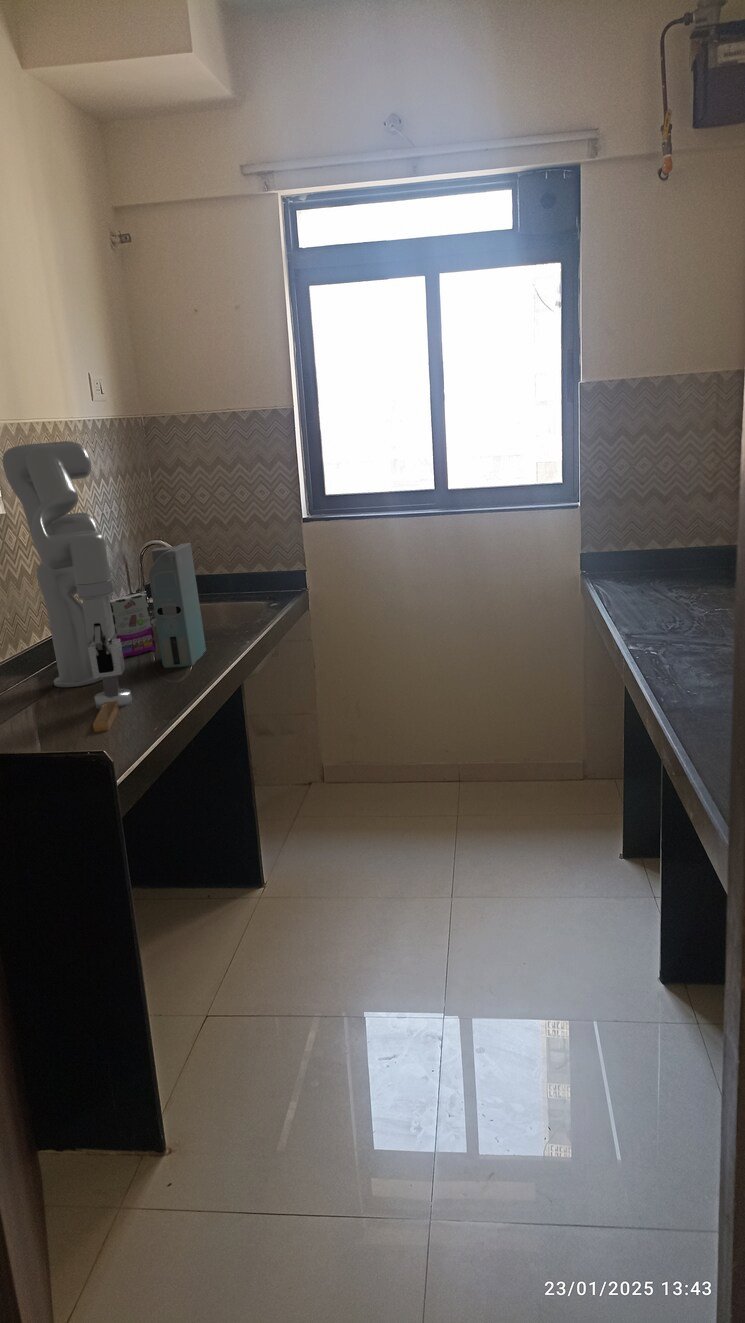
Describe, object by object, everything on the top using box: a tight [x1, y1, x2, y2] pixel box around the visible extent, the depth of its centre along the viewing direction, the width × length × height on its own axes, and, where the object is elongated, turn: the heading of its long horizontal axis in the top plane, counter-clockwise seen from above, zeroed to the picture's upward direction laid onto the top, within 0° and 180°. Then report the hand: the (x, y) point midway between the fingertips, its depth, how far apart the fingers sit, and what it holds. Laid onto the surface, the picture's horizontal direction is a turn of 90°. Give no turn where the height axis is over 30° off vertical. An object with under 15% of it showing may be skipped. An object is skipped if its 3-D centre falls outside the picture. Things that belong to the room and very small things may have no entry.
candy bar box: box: [109, 592, 157, 659], centre depth 259 cm, size 11×5×16 cm, turn 131°
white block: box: [88, 638, 126, 678], centre depth 208 cm, size 6×6×7 cm
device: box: [148, 542, 207, 669], centre depth 245 cm, size 16×8×30 cm, turn 177°
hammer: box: [92, 675, 133, 733], centre depth 203 cm, size 24×8×6 cm, turn 8°
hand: (108, 667), depth 209 cm, fingers closed on white block, 6 cm apart
